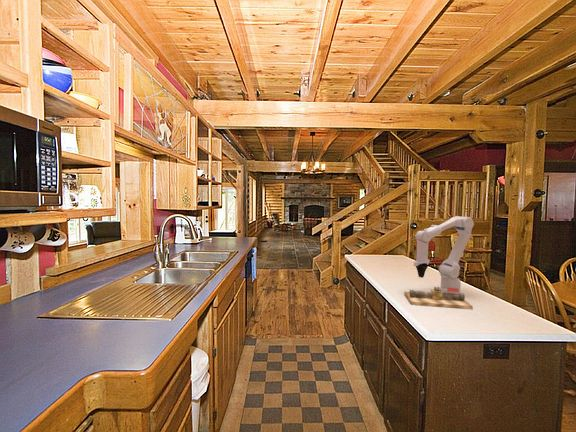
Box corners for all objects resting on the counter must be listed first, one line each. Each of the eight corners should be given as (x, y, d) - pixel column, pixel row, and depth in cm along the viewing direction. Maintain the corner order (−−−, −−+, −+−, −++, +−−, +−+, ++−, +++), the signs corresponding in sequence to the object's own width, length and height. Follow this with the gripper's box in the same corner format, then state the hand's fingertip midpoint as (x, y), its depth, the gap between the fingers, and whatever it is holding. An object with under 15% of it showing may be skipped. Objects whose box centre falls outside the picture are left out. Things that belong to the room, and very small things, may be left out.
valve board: (459, 298, 160) (460, 287, 159) (472, 309, 144) (473, 297, 143) (404, 294, 164) (404, 284, 164) (411, 304, 149) (411, 293, 148)
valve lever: (434, 290, 153) (435, 287, 153) (433, 289, 155) (433, 286, 155) (458, 292, 151) (458, 289, 151) (456, 290, 153) (456, 287, 153)
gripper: (423, 255, 157) (422, 280, 157) (435, 252, 166) (434, 276, 167) (410, 253, 162) (409, 278, 163) (422, 250, 171) (421, 273, 172)
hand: (421, 277), depth 165 cm, fingers closed
